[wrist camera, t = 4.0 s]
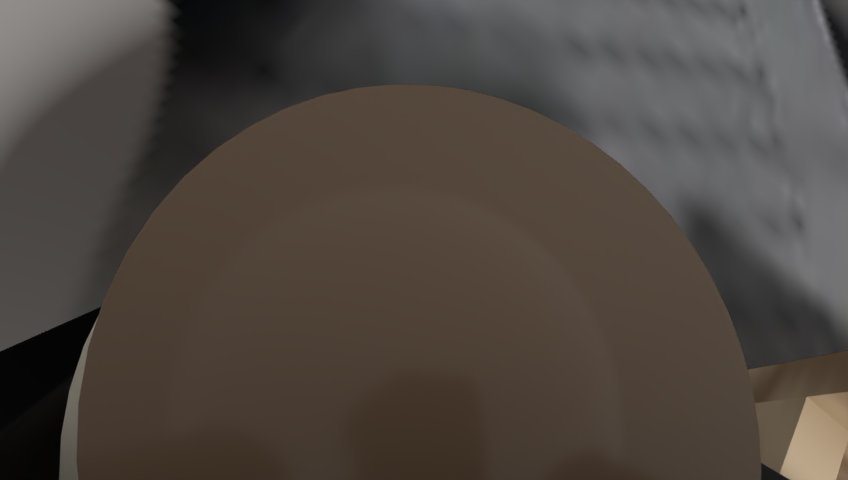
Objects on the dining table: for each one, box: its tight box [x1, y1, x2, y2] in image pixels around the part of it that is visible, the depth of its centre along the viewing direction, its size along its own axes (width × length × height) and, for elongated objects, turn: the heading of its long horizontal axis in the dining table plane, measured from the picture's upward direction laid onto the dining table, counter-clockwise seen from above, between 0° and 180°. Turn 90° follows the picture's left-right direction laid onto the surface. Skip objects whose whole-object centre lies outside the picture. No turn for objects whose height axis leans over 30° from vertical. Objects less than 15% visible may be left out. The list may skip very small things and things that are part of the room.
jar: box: [59, 84, 761, 480], centre depth 9 cm, size 6×6×12 cm
